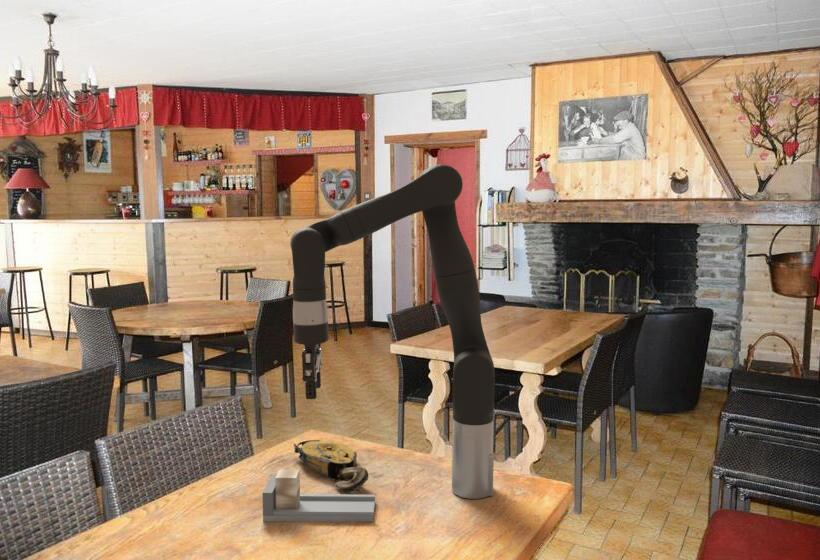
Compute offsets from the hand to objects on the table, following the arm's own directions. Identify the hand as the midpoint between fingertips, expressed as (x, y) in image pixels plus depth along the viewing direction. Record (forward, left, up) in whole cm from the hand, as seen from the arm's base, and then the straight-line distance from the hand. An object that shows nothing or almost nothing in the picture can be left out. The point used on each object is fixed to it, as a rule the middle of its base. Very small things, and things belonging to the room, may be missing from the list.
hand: (313, 393), depth 149 cm
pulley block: (-3, -16, -25) cm, 30 cm away
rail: (-2, +5, -25) cm, 25 cm away
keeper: (+5, +5, -23) cm, 24 cm away
